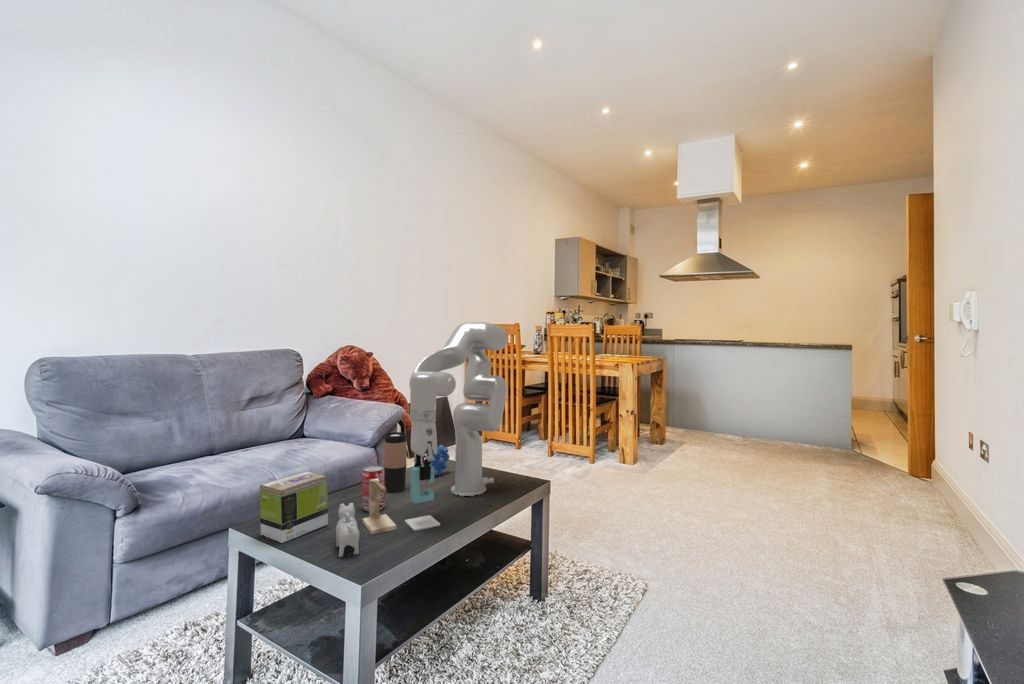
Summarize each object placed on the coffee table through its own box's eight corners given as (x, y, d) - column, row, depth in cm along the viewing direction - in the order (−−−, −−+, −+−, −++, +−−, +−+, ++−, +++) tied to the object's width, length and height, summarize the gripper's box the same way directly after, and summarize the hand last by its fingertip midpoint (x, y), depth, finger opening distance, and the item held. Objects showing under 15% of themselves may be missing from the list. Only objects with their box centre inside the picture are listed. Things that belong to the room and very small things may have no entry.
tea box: (306, 518, 147) (306, 470, 146) (328, 525, 142) (328, 475, 141) (258, 536, 134) (259, 482, 133) (281, 544, 129) (281, 489, 128)
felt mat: (429, 516, 149) (429, 515, 149) (440, 525, 142) (440, 523, 142) (404, 521, 145) (404, 520, 145) (414, 531, 138) (414, 529, 138)
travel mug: (380, 489, 175) (380, 433, 174) (399, 484, 180) (399, 431, 179) (390, 494, 169) (390, 437, 169) (409, 489, 174) (410, 434, 174)
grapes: (440, 470, 199) (440, 441, 199) (453, 473, 195) (453, 443, 195) (420, 477, 190) (420, 446, 190) (432, 480, 186) (433, 449, 186)
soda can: (378, 513, 151) (378, 472, 151) (357, 511, 153) (357, 470, 152) (388, 505, 158) (389, 466, 158) (368, 503, 160) (368, 464, 159)
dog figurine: (354, 536, 134) (354, 498, 134) (361, 555, 123) (361, 513, 123) (333, 539, 132) (333, 500, 132) (339, 559, 120) (339, 516, 120)
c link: (429, 496, 146) (429, 464, 146) (433, 500, 143) (434, 467, 143) (410, 499, 143) (410, 467, 143) (414, 503, 140) (414, 470, 140)
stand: (385, 517, 148) (385, 477, 148) (396, 529, 139) (396, 486, 139) (362, 521, 144) (362, 480, 144) (372, 534, 135) (372, 490, 135)
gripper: (446, 419, 138) (445, 483, 138) (424, 411, 152) (423, 469, 152) (421, 421, 134) (420, 487, 134) (401, 412, 148) (400, 472, 148)
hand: (422, 477), depth 143 cm, fingers closed on c link, 3 cm apart
